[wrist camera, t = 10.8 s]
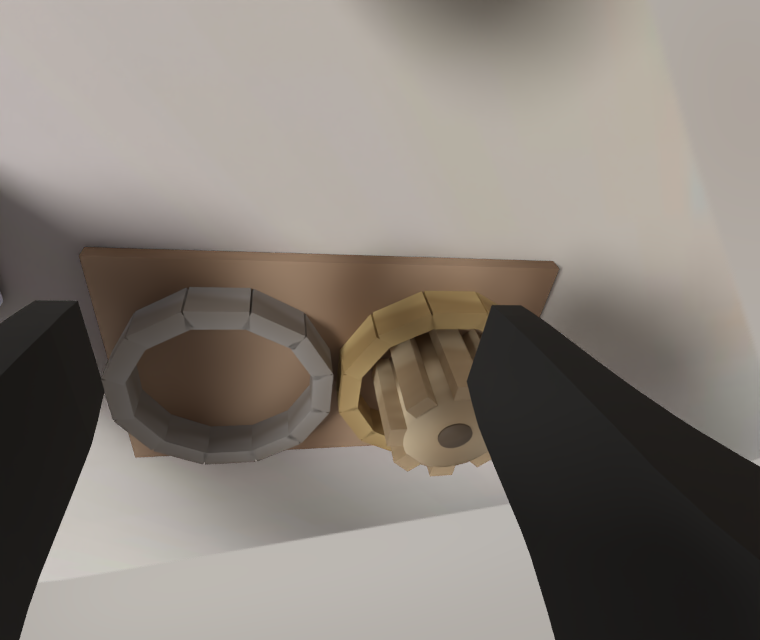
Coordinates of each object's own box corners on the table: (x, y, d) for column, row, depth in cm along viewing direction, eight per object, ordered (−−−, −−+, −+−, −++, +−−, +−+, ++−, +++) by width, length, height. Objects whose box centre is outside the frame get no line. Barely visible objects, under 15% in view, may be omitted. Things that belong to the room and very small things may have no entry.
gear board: (138, 447, 24) (127, 485, 22) (84, 246, 17) (63, 280, 15) (485, 430, 27) (498, 462, 26) (552, 261, 21) (576, 289, 19)
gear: (366, 408, 24) (380, 481, 20) (380, 319, 20) (399, 391, 17) (471, 404, 25) (499, 473, 21) (500, 320, 21) (539, 387, 18)
